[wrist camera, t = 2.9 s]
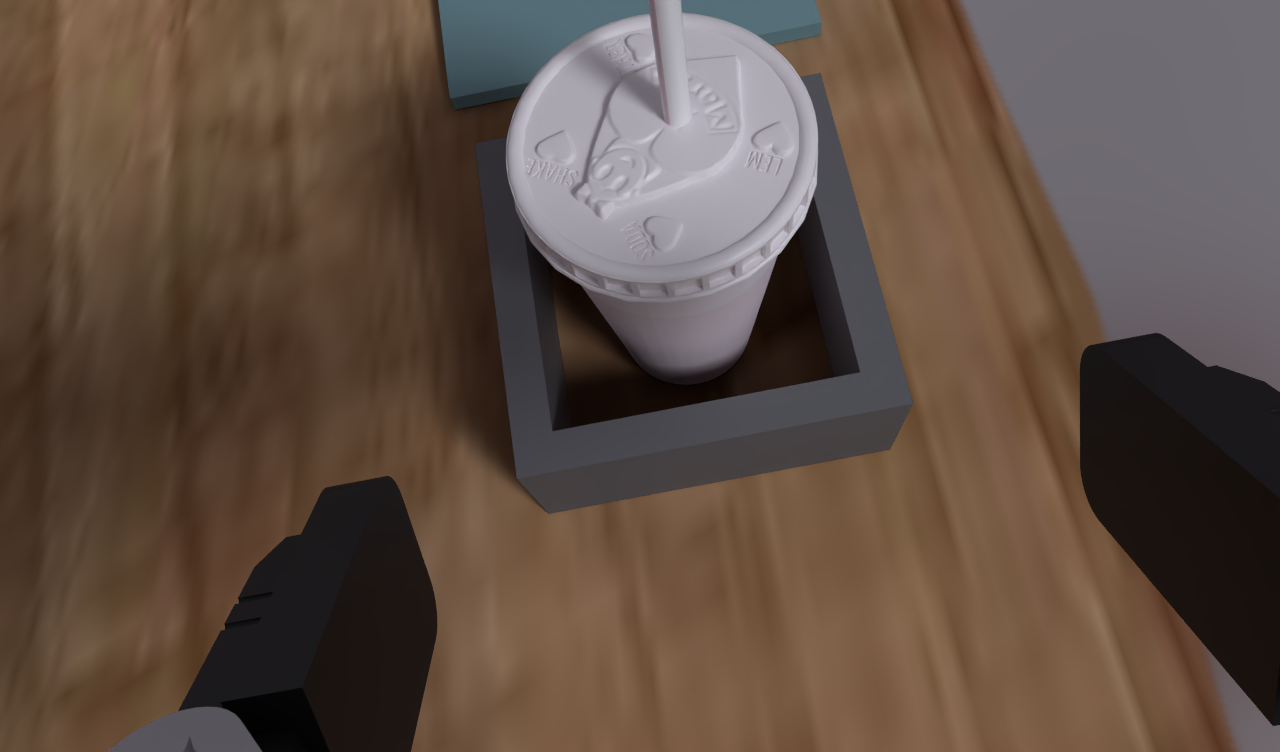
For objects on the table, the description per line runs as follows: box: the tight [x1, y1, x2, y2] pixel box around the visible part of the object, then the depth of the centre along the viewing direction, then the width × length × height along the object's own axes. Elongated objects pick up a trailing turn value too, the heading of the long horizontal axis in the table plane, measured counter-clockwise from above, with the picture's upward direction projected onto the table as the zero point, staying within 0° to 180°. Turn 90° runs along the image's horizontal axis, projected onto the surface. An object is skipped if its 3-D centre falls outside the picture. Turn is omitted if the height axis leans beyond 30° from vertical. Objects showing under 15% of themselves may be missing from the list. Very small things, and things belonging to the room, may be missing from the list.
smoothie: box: [506, 0, 818, 385], centre depth 22 cm, size 6×6×14 cm
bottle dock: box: [475, 73, 913, 514], centre depth 27 cm, size 10×10×4 cm
